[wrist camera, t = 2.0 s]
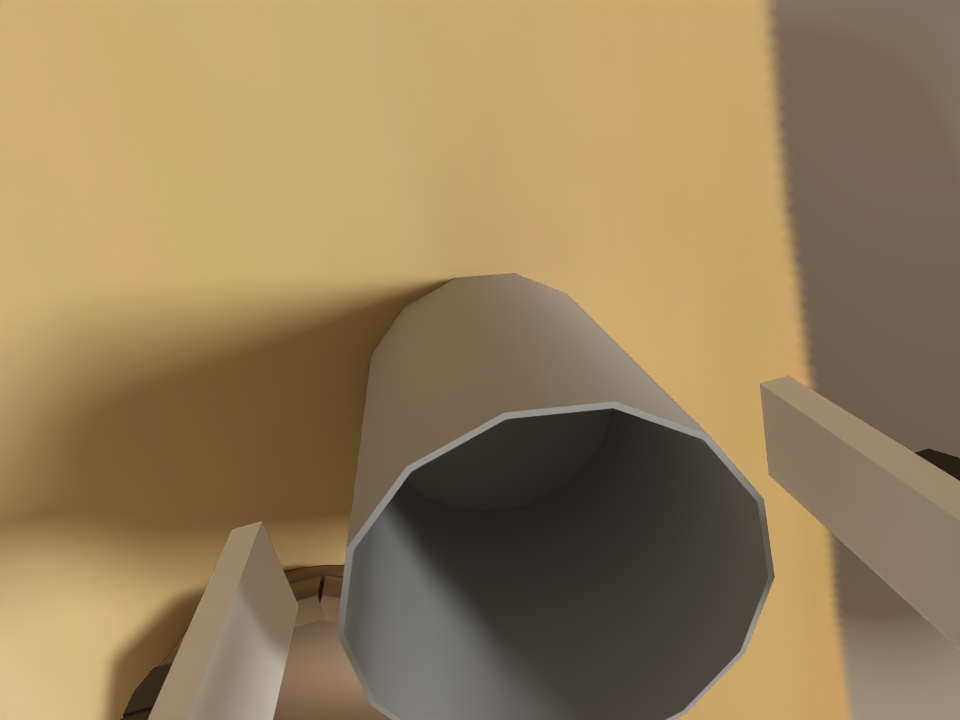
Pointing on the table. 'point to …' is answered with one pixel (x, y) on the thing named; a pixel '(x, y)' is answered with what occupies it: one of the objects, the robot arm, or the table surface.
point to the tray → (317, 655)
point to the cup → (539, 522)
